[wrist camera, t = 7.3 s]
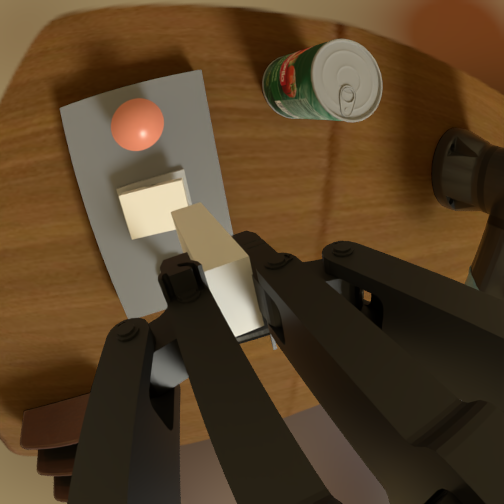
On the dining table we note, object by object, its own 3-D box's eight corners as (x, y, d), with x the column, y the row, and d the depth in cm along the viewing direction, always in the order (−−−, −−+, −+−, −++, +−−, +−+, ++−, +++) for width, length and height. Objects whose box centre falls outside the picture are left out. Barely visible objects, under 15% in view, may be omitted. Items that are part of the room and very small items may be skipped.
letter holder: (150, 418, 45) (165, 490, 33) (57, 442, 41) (57, 507, 29) (121, 381, 40) (130, 461, 28) (23, 409, 36) (14, 479, 24)
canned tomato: (264, 49, 30) (315, 27, 21) (324, 63, 33) (385, 52, 24) (258, 114, 33) (308, 114, 24) (318, 123, 36) (379, 129, 27)
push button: (154, 97, 27) (158, 92, 23) (163, 140, 29) (168, 142, 25) (110, 109, 26) (106, 106, 21) (120, 152, 28) (117, 157, 23)
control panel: (195, 74, 29) (202, 68, 26) (235, 272, 40) (245, 287, 37) (66, 109, 26) (57, 107, 22) (128, 306, 37) (129, 324, 33)
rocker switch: (182, 176, 28) (181, 180, 27) (193, 220, 30) (192, 225, 29) (122, 191, 28) (118, 196, 27) (135, 233, 30) (132, 239, 29)
